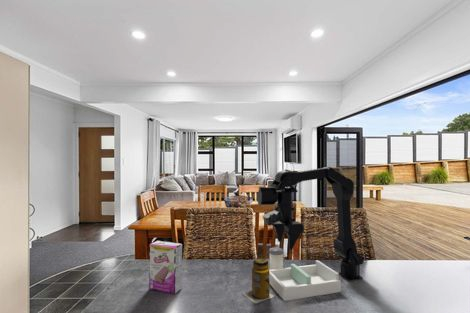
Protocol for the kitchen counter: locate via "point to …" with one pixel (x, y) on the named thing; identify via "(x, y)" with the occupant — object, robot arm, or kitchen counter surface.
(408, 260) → the kitchen counter surface
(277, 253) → the jar
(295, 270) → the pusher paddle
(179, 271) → the candy bar box
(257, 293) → the condiment
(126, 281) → the kitchen counter surface
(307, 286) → the white tray
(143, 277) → the kitchen counter surface
